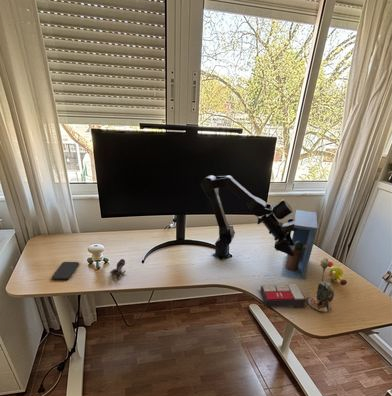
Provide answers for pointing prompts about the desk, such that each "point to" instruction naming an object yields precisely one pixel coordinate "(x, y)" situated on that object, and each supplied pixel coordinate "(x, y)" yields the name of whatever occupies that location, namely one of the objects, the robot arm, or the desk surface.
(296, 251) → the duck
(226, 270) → the desk surface
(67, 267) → the phone
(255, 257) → the desk surface
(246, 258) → the desk surface
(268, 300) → the red and grey box
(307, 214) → the cubby
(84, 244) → the desk surface
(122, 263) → the dark squid figurine
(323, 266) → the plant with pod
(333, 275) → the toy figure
